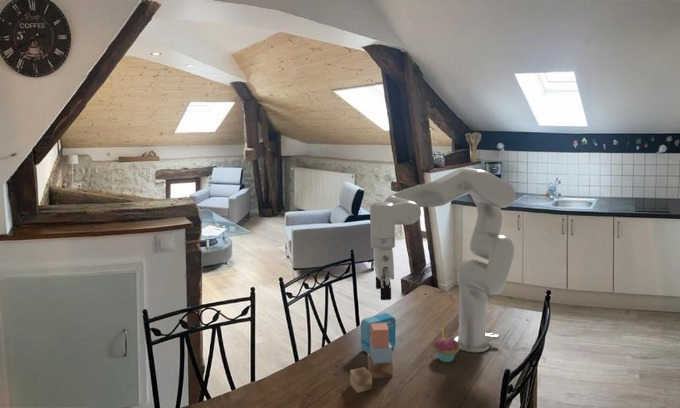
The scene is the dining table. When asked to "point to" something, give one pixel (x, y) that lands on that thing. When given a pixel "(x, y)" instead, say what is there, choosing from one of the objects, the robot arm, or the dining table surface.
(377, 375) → the tower base
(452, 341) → the cupcake
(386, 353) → the tower top
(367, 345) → the data package
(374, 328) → the salmon orange block
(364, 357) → the dining table surface
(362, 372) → the block
